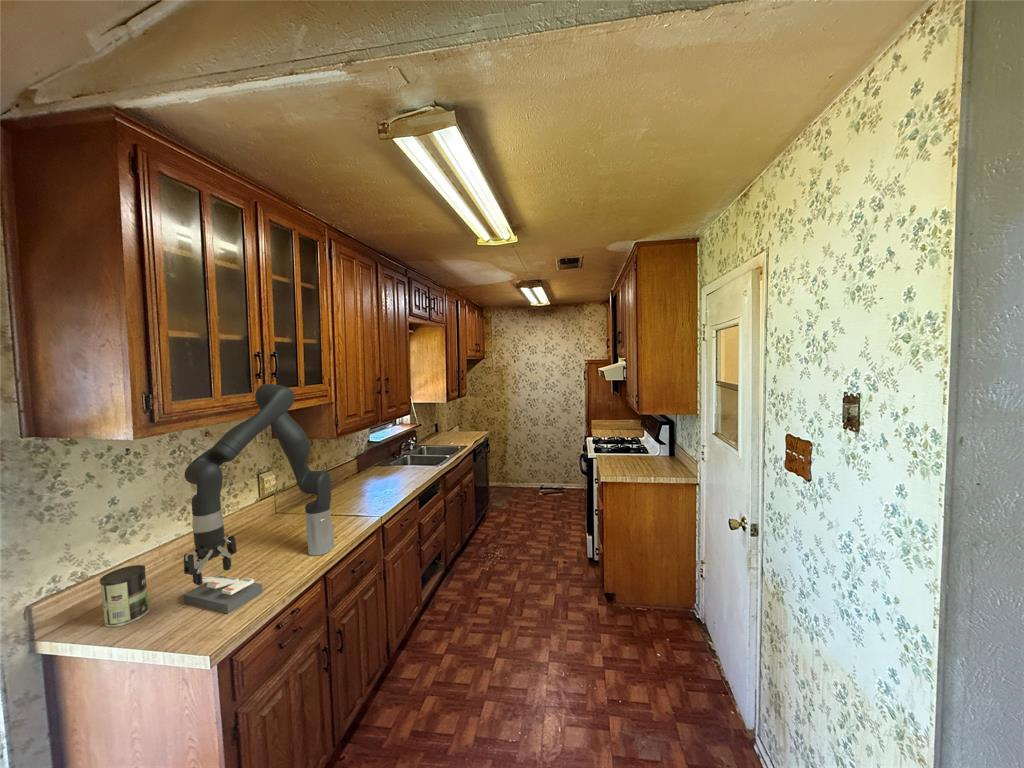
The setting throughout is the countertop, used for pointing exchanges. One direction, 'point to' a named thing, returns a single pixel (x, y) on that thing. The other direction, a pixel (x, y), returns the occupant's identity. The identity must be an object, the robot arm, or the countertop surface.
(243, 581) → the rocker
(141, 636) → the countertop surface
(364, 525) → the countertop surface
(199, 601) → the rocker switch panel
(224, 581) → the rocker
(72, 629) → the countertop surface
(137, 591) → the coffee can
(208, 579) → the rocker
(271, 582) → the countertop surface
